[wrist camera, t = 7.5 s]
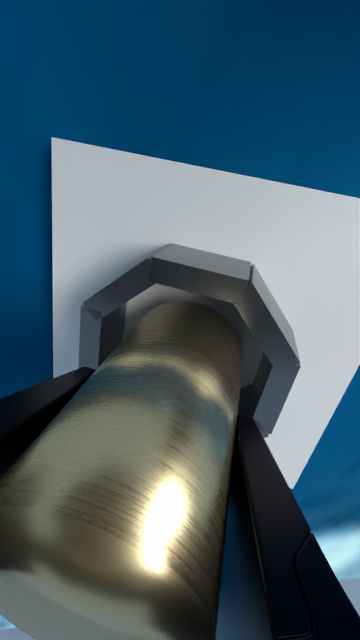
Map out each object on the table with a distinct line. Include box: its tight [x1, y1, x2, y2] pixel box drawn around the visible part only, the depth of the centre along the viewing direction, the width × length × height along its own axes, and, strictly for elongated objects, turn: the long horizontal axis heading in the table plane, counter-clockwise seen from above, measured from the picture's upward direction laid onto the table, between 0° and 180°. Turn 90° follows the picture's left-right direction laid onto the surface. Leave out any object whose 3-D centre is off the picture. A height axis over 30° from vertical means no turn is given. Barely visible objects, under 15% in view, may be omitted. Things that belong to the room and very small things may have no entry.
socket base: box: [52, 137, 360, 489], centre depth 13 cm, size 13×13×1 cm
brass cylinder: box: [0, 301, 243, 640], centre depth 8 cm, size 4×4×8 cm
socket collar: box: [78, 243, 301, 438], centre depth 12 cm, size 8×8×2 cm
